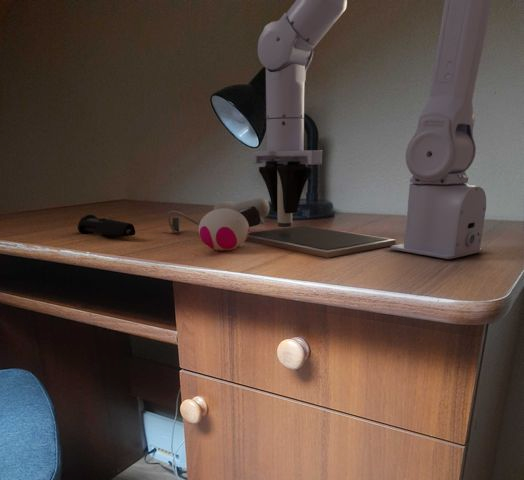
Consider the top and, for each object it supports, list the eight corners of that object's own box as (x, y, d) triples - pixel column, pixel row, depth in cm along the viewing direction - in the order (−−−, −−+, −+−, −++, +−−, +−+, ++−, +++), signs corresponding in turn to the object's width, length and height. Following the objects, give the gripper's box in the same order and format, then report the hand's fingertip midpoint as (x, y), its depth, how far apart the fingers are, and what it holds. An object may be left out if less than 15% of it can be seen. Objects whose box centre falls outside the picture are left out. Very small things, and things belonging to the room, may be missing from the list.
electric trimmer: (121, 244, 78) (118, 223, 77) (76, 233, 88) (73, 214, 87) (141, 241, 80) (140, 221, 79) (95, 230, 90) (93, 212, 89)
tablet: (395, 245, 73) (396, 238, 72) (327, 258, 65) (327, 251, 64) (304, 230, 87) (304, 224, 87) (239, 239, 79) (239, 233, 79)
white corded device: (161, 255, 83) (262, 234, 77) (148, 218, 80) (251, 193, 75) (186, 237, 93) (276, 217, 87) (175, 203, 90) (267, 180, 85)
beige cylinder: (295, 226, 80) (295, 167, 77) (283, 227, 79) (284, 167, 76) (285, 224, 82) (285, 167, 79) (274, 226, 81) (274, 167, 77)
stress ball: (197, 272, 72) (178, 239, 67) (218, 234, 76) (201, 199, 71) (243, 275, 69) (227, 240, 64) (262, 235, 73) (248, 198, 68)
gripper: (236, 121, 78) (238, 210, 83) (296, 115, 67) (295, 218, 72) (271, 122, 82) (271, 207, 87) (333, 117, 71) (330, 214, 76)
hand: (284, 212), depth 80 cm, fingers closed on beige cylinder, 2 cm apart
